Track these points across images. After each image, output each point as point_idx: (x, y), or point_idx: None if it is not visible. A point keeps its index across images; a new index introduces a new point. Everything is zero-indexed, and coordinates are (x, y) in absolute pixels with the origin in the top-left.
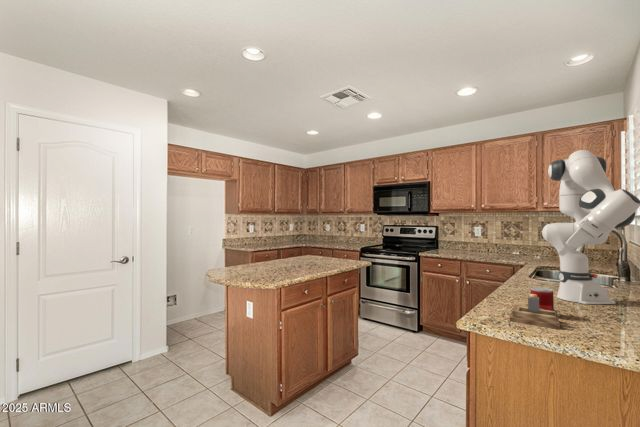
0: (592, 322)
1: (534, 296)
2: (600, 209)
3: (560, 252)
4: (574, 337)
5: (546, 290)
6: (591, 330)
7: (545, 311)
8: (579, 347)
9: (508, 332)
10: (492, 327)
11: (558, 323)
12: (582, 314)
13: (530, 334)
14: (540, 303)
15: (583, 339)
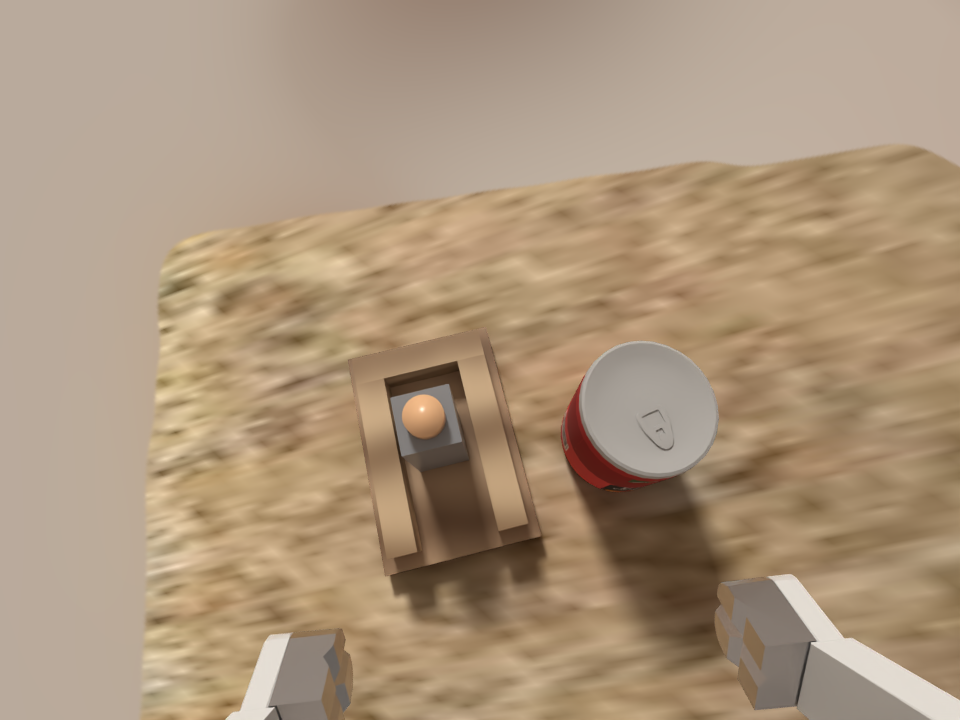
0: (674, 680)
1: (406, 427)
2: None
3: (261, 672)
4: None
5: (648, 437)
6: (501, 702)
7: (487, 481)
8: (171, 704)
9: (175, 418)
10: (198, 348)
11: (418, 563)
12: None
13: (212, 494)
14: (569, 432)
15: None
